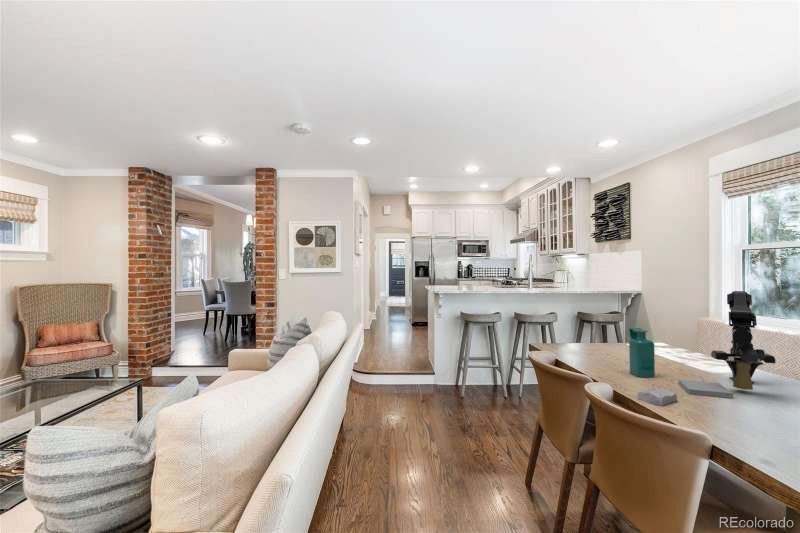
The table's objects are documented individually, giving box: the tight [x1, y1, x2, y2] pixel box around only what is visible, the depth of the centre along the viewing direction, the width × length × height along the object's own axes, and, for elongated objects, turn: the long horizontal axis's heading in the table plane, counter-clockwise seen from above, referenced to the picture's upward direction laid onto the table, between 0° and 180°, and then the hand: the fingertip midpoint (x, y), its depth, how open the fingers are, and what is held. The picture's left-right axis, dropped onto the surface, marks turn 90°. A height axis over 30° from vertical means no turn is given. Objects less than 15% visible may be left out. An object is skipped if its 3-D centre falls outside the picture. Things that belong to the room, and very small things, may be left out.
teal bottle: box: [628, 327, 656, 378], centre depth 175 cm, size 10×8×22 cm
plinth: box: [678, 379, 734, 399], centre depth 151 cm, size 14×14×2 cm
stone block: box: [637, 388, 678, 407], centre depth 142 cm, size 12×5×10 cm
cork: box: [732, 360, 754, 391], centre depth 149 cm, size 6×6×11 cm
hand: (742, 377), depth 149 cm, fingers closed on cork, 4 cm apart
